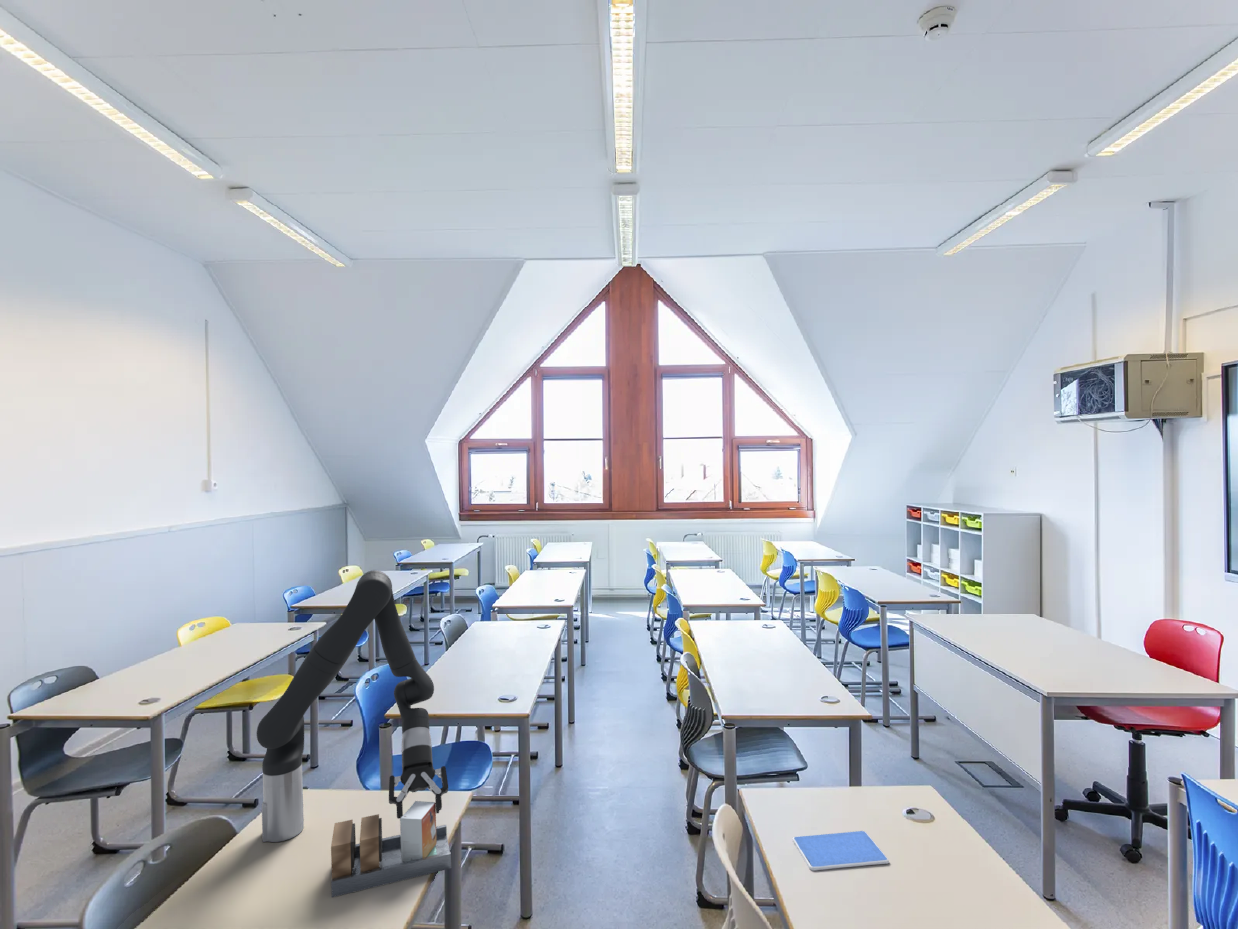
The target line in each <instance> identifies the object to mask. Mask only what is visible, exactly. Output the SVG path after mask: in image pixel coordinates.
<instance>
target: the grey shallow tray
mask: <svg viewBox="0 0 1238 929" xmlns="http://www.w3.org/2000/svg"><path fill="white" fill-rule="evenodd" d="M447 830H448V829H447V824H443V825H438V826H437V825H436V841H437V843H436V845H435V846H434V848H433V849H432V850H431V852H430V853H429V854H428V856H427V857H424V858H420V859H416V860H411V861H407V862H402V861H401V834H397V835H391V836H388V837H387V836H386V837H382V861H381V862H380V868H377V869H373V870H368V871H364V872H361V870H360V842H359V843H356V851H355V863H354V868H353V869H352V874H351V875H347V876H343V877H338V878H334V879H332V878H331V898H334V897H339V896H343V895H348V894H351V893H355V892H359V891H363V890H368V889H372V888H376V887H380V886H384V885H388V884H389V885H390V884H393V883H397V882H401V881H405V880H408V879H414V878H418V877H423V876H426V875H429V874H430V875H431V874H433V873H438V872H441V871H446V870H450V869H452V853H451V851H450V847H449V840H448V833H447V832H448V831H447ZM437 871H438V872H437Z"/></svg>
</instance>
